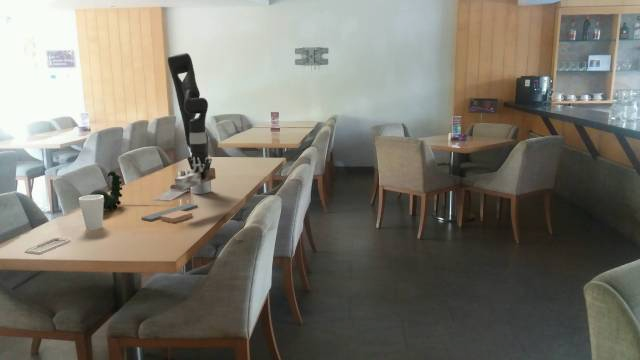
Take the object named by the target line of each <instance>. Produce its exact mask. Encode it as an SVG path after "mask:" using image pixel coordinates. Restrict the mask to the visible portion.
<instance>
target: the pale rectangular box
mask: <svg viewBox="0 0 640 360" xmlns="http://www.w3.org/2000/svg"><path fill="white" fill-rule="evenodd" d="M216 178H217V177H216V169H215V168H214V167H210V169H209V170H207V171H206V179H205V180H202V179H201V171H198V172H194V173H188V174H185V175H182V176H179V177H176V178H174V182H175V183H174V184H175V189H176V190H177V191H184V190H186V189H189V188H192V186H195V185H198V184H201V183H204V182H207V181H210V180H211V181H213V180H216Z"/></svg>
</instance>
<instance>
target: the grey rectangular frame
mask: <svg viewBox="0 0 640 360" xmlns="http://www.w3.org/2000/svg"><path fill="white" fill-rule="evenodd" d="M60 240H65V241H62V242H60V243H58V244H55V245H52V246H50V247H48V248H45V249H42V250H39V251H38V250H32V249H33V248H38V247H42V246H44V245H47V244H49V243H52V242H54V241H60ZM70 242H71V238H63V237H62V238H61V237H54V238H51V239H49V240H46V241H44V242H42V243H39V244H36V245H33V246H30V247H28V248H26V249H24V253H28V254H36V255H37V254H38V255H42V254H44V253H46V252H49V251H52V250H53V249H56V248H59V247H61V246H64V245H65V244H68V243H70Z"/></svg>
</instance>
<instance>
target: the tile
mask: <svg viewBox="0 0 640 360" xmlns="http://www.w3.org/2000/svg"><path fill="white" fill-rule="evenodd" d="M189 217H190V218H192V217H193V212H191V211H181V210H179V211H176V212H172V213H169V214H166V215H162V216H161V218H160V221H162V220H163V221H162V222H167V221H169V222H168V223H172V222H175V223H178V222H181V221H184V220H187V219H190V218H189ZM186 218H187V219H186ZM183 219H184V220H183ZM180 220H181V221H180ZM177 221H178V222H177Z"/></svg>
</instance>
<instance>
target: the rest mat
mask: <svg viewBox="0 0 640 360" xmlns="http://www.w3.org/2000/svg"><path fill="white" fill-rule="evenodd" d="M198 207H199V206H198V204H194V203H187V204H186V203H185V204H183V205H179V206H175V207H172V208H169V209H165V210H163V211H158V212H156V213H155V212H154V213H151V214H149V215H145V216H141V220H143V221H147V222H153V220H154V221H156V219H157V220H161V216H162V215H166V214H169V213H172V212H176V211H179V210H181V211H186V212H188V211H189V210H192V209H197V208H198Z"/></svg>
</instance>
